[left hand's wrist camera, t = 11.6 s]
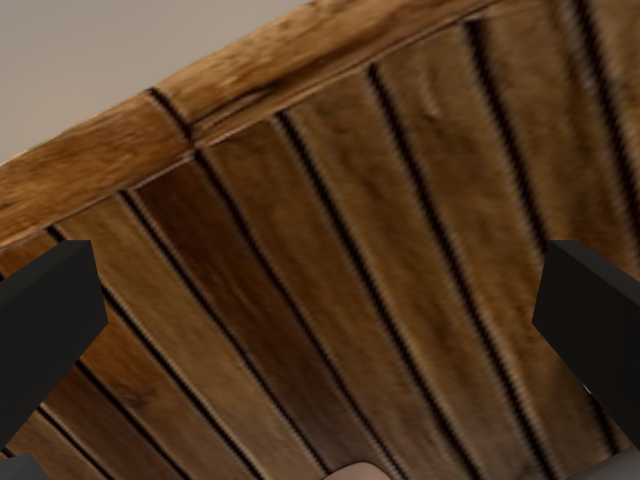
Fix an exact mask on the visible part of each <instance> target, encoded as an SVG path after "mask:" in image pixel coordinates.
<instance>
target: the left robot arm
mask: <svg viewBox="0 0 640 480" xmlns="http://www.w3.org/2000/svg"><path fill="white" fill-rule="evenodd" d="M107 324H108V318H107V314H106V309H105V305H104V300H103V295H102V291H101V286H100V282H99V277H98V272H97V268H96V263H95V259H94V254H93V250H92V245H91V240H63V241H62V242H60V243H59V244H57V245H56V246H54V247H53V248H51V249H50V250H48V251H47V252H45V253H44V254H42V255H41V256H39V257H38V258H36V259H35V260H33V261H32V262H30V263H29V264H27V265H26V266H24V267H23V268H21V269H19V270H18V271H16V272H15V273H13V274H12V275H10V276H9V277H7V278H6V279H4V280H3V281H1V282H0V451H1V450H2V449H3V448H4V446H5V445H6V444H7V443H8V442H9V441H10V439H11V438H12V437H13V436H14V435H15V433H16V432H17V431H18V430H19V429H20V427H21V426H22V425H23V424H24V423H25V422H26V420H27V419H28V418H29V417H30V416H31V414H32V413H33V412H34V411H35V410H36V408H37V407H38V406H39V405H40V404H41V402H42V401H43V400H44V399H45V398H46V397H47V395H48V394H49V393H50V392H51V391H52V389H53V388H54V387H55V386H56V385H57V383H58V382H59V381H60V380H61V379H62V377H63V376H64V375H65V374H66V373H67V372H68V370H69V369H70V368H71V367H72V366H73V364H74V363H75V362H76V361H77V360H78V358H79V357H80V356H81V355H82V354H83V352H84V351H85V350H86V349H87V348H88V347H89V345H90V344H91V343H92V342H93V341H94V339H95V338H96V337H97V336H98V335H99V333H100V332H101V331H102V330H103V329H104V327H105V326H106V325H107ZM532 324H533V325H534V326H535V327H536V329H537V330H538V331H539V332H540V333H541V335H542V336H543V337H544V338H545V339H546V341H547V342H548V343H549V344H550V345H551V347H552V348H553V349H554V350H555V351H556V352H557V354H558V355H559V356H560V357H561V358H562V360H563V361H564V362H565V363H566V364H567V366H568V367H569V368H570V369H571V370H572V372H573V373H574V374H575V375H576V376H577V378H578V379H579V381H580V382H581V383H582V384H583V386H584V387H585V388H586V389H587V390H588V391H589V392H590V393H591V394H592V395H593V397H594V398H595V399H596V400H597V401H598V402H599V404H600V405H601V406H602V407H603V408H604V410H605V411H606V412H607V413H608V414H609V416H610V417H611V418H612V419H613V420H614V422H615V423H616V424H617V425H618V426H619V427H620V429H621V430H622V431H623V432H624V433H625V435H626V436H627V437H628V438H629V439H630V441H631V442H632V443H633V444H634V446H632V447H630V448H628V449H626V450H624V451H622V452H620V453H618V454H616V455H614V456H612V457H610V458H608V459H606V460H604V461H602V462H600V463H598V464H596V465H594V466H592V467H590V468H588V469H586V470H584V471H582V472H580V473H578V474H575V475H573V476H571V477H569V478H567V479H565V480H640V282H639V281H637V280H636V279H634V278H633V277H631V276H630V275H628V274H627V273H625V272H624V271H622V270H621V269H619V268H617V267H616V266H614V265H613V264H611V263H610V262H608V261H607V260H605V259H604V258H602V257H601V256H599V255H598V254H596V253H595V252H593V251H592V250H590V249H589V248H587V247H586V246H584V245H583V244H581V243H580V242H578V241H577V240H549V245H548V250H547V254H546V259H545V263H544V268H543V272H542V277H541V282H540V286H539V291H538V295H537V300H536V305H535V309H534V314H533V318H532Z"/></svg>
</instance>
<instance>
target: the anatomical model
mask: <svg viewBox="0 0 640 480" xmlns="http://www.w3.org/2000/svg"><path fill="white" fill-rule="evenodd" d="M323 480H391V479H390V478H389V477H388V476H387V475H386V474H385V473H383V472H382V471H381V470H380V469H378V468H377V467H375V466H374V465H372V464H369V463H365V462H361V463H356V464H353V465H350V466H347V467H345V468H343V469H340V470H338V471H336V472H334V473H332V474H331V475H329V476H327V477H326V478H324V479H323Z"/></svg>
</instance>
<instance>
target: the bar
mask: <svg viewBox="0 0 640 480" xmlns="http://www.w3.org/2000/svg"><path fill="white" fill-rule="evenodd" d="M0 480H49V479H48V477H47V476H46V475H45V473H44V472H43V471H42V469H41V468H40V467H39V465H38V464H37V463H36V461H35V460H34V459H33V457H32V456H31V455H30V453H28V454H24V455H20V456H16V457H12V458H8V459H4V460H0Z"/></svg>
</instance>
